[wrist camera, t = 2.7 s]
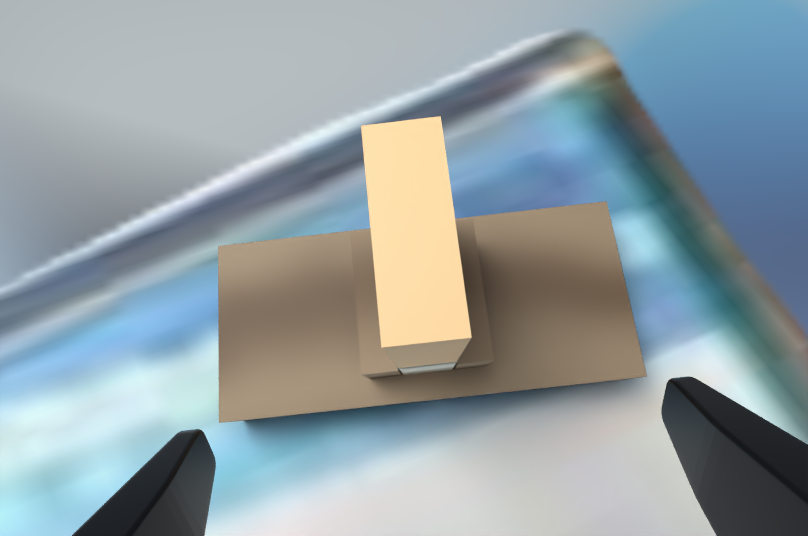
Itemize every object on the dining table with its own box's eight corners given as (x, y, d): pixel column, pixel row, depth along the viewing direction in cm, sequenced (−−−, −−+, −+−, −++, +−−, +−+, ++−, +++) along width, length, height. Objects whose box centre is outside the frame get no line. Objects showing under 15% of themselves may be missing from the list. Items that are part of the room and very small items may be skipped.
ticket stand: (621, 379, 21) (686, 371, 16) (243, 420, 21) (180, 425, 16) (587, 222, 23) (635, 167, 17) (240, 262, 23) (183, 220, 18)
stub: (457, 362, 16) (473, 337, 10) (397, 368, 16) (378, 348, 10) (438, 214, 17) (443, 116, 11) (382, 220, 17) (359, 126, 11)
